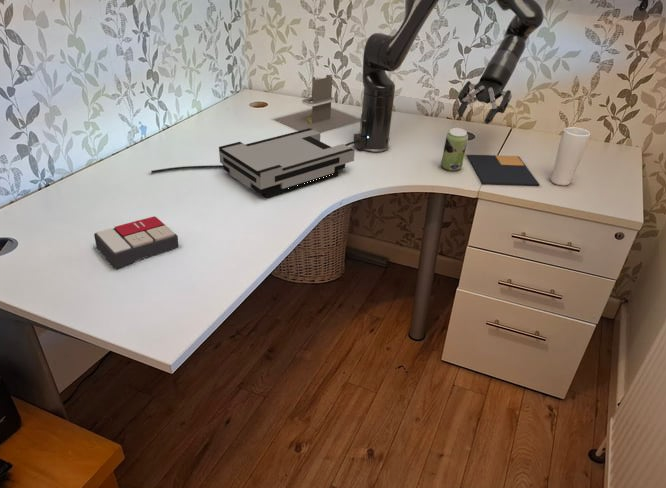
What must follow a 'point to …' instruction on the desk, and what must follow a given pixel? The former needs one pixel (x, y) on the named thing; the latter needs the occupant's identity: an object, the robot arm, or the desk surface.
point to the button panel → (135, 241)
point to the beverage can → (454, 149)
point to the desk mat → (502, 170)
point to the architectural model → (319, 110)
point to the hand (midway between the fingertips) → (472, 118)
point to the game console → (284, 162)
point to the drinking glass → (569, 154)
